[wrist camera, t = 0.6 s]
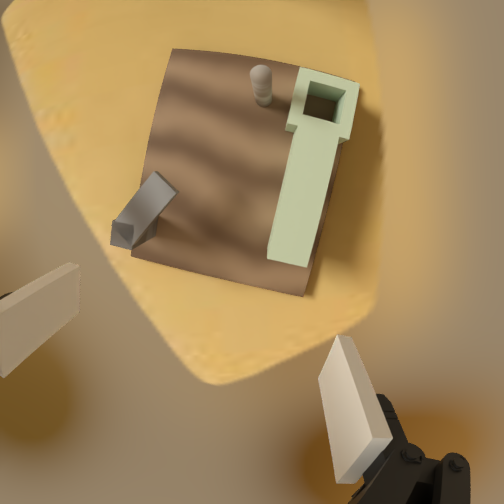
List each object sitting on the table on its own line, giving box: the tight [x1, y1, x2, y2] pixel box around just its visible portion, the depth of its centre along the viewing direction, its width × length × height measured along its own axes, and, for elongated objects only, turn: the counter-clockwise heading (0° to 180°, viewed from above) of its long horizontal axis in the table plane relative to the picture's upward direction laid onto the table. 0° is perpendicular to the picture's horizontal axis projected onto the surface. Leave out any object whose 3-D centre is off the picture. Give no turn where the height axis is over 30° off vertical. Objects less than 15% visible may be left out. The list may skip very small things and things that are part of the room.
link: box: [267, 67, 360, 268], centre depth 30 cm, size 19×6×5 cm, turn 168°
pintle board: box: [110, 49, 354, 297], centre depth 29 cm, size 26×22×10 cm
